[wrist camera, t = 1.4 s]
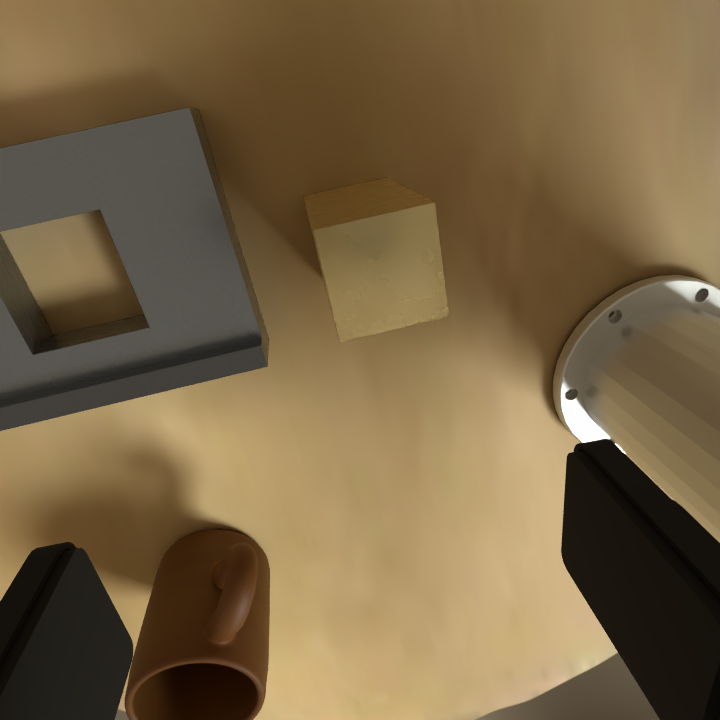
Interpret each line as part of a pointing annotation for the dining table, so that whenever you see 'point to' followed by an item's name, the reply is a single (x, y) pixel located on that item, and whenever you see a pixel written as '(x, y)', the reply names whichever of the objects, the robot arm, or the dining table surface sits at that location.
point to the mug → (204, 633)
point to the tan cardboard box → (378, 257)
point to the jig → (127, 269)
